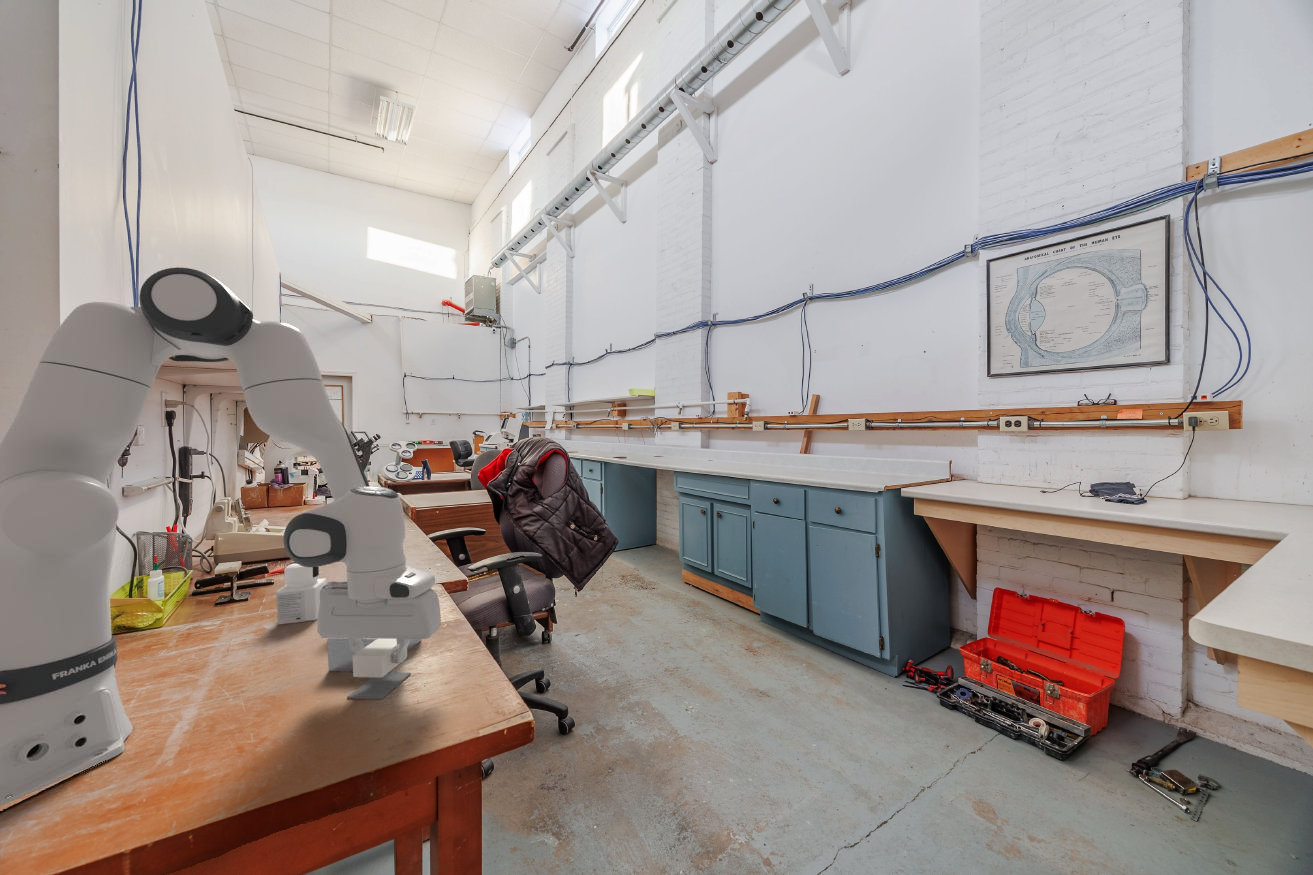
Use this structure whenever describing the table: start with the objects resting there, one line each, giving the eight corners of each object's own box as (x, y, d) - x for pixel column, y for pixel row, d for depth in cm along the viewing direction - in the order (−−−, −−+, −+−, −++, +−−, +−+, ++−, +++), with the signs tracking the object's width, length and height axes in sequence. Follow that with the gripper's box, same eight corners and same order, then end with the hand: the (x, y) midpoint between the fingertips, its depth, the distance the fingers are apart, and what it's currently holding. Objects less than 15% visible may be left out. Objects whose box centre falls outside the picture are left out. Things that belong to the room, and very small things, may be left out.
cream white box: (382, 677, 80) (381, 656, 80) (353, 676, 80) (352, 655, 80) (407, 656, 87) (406, 637, 87) (380, 656, 87) (379, 637, 87)
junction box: (380, 672, 88) (379, 639, 88) (328, 670, 88) (327, 638, 88) (421, 640, 101) (420, 611, 100) (375, 639, 101) (374, 611, 101)
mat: (381, 699, 79) (381, 697, 79) (347, 698, 79) (346, 696, 79) (410, 674, 87) (410, 672, 87) (378, 673, 87) (378, 671, 87)
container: (291, 612, 118) (289, 559, 117) (328, 608, 120) (326, 556, 120) (276, 625, 110) (274, 568, 110) (316, 620, 113) (314, 564, 112)
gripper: (305, 587, 81) (309, 669, 81) (424, 587, 79) (427, 671, 79) (333, 575, 87) (336, 652, 87) (444, 575, 85) (446, 653, 86)
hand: (380, 661), depth 83 cm, fingers closed on cream white box, 5 cm apart
